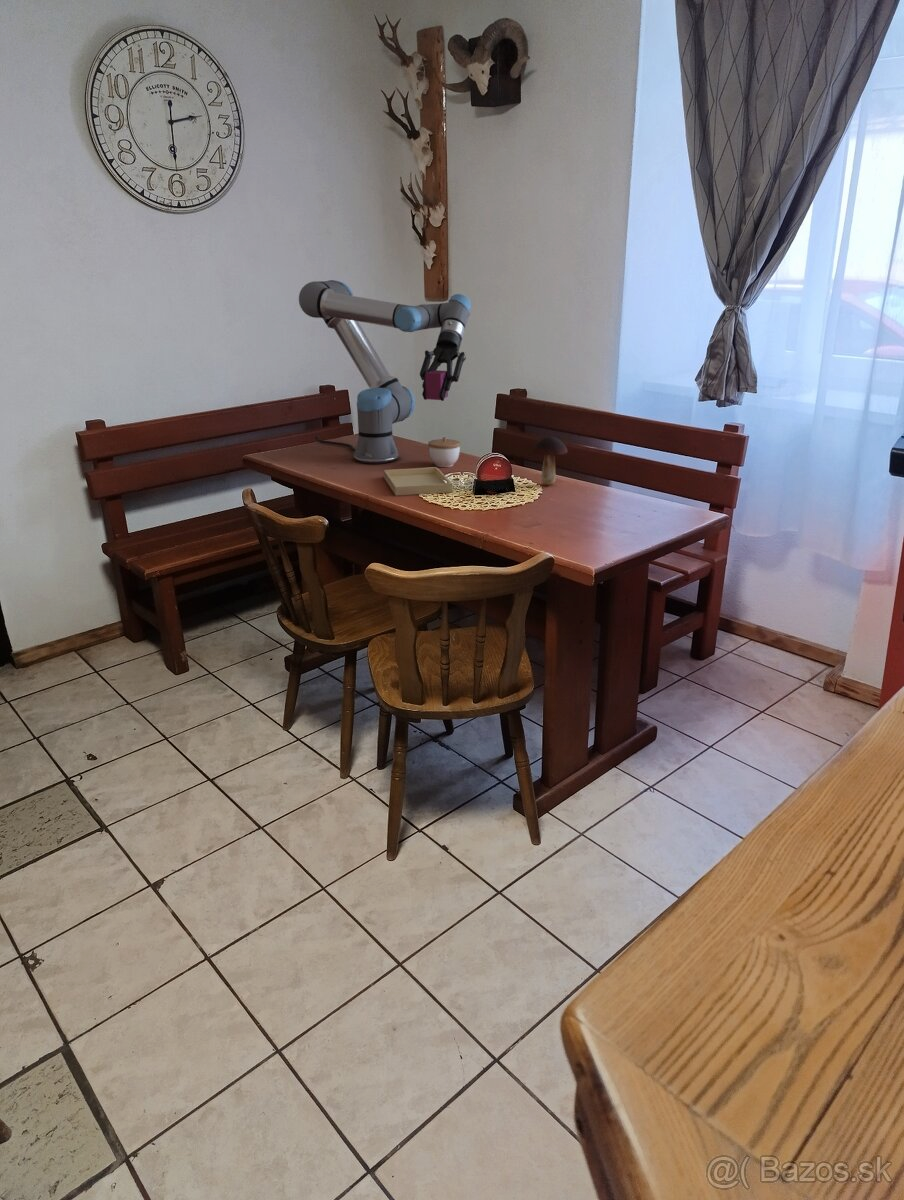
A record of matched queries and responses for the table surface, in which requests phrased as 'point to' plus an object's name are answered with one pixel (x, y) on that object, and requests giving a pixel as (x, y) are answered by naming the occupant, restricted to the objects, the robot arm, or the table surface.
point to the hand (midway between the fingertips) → (432, 397)
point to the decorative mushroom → (549, 457)
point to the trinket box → (444, 451)
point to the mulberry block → (435, 384)
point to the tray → (417, 481)
